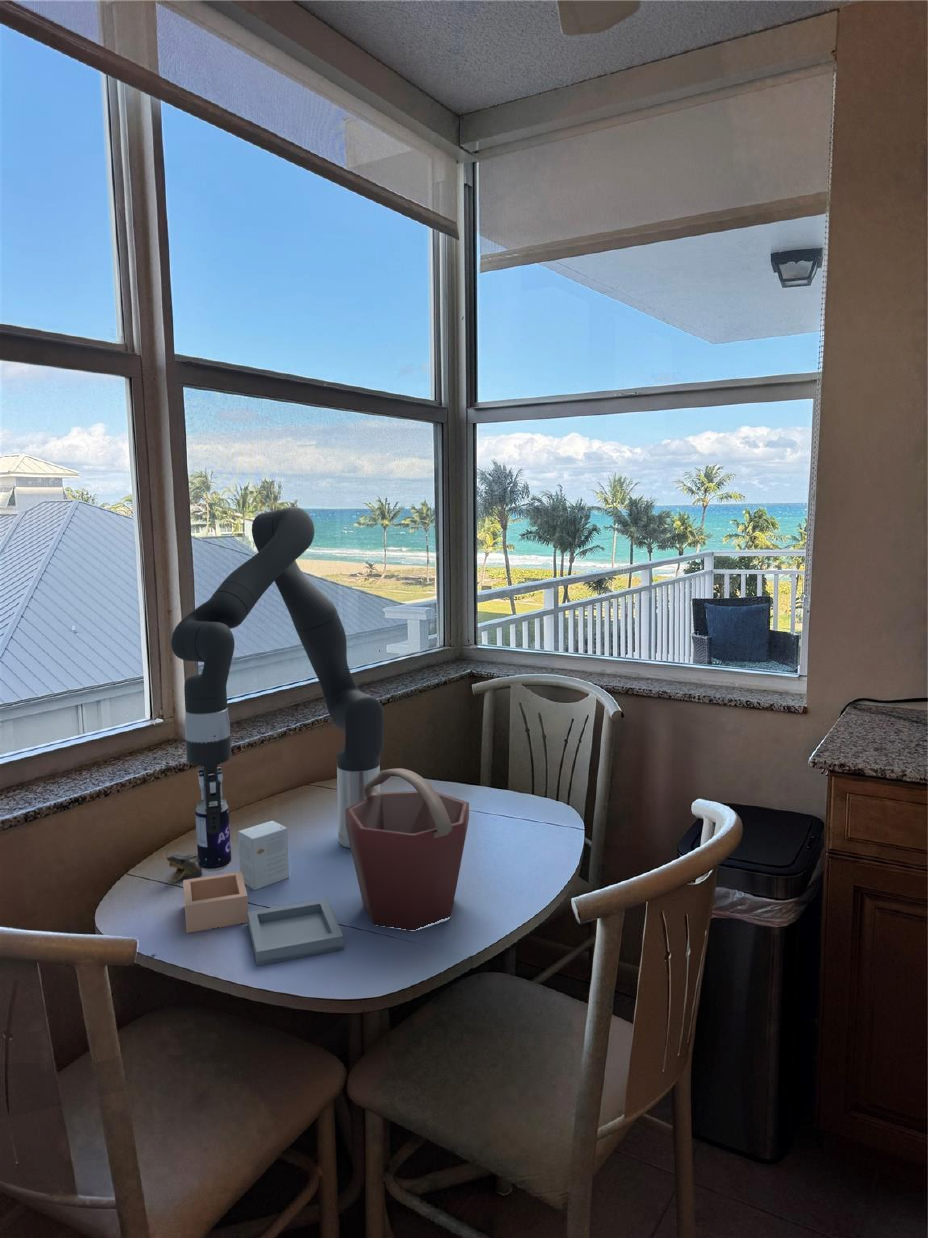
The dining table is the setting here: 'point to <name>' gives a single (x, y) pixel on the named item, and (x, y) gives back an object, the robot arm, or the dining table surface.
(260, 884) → the small box
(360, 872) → the bucket
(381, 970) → the dining table surface
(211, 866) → the beverage can
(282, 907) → the slate tray
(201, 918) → the peach open bin
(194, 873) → the dinosaur head
